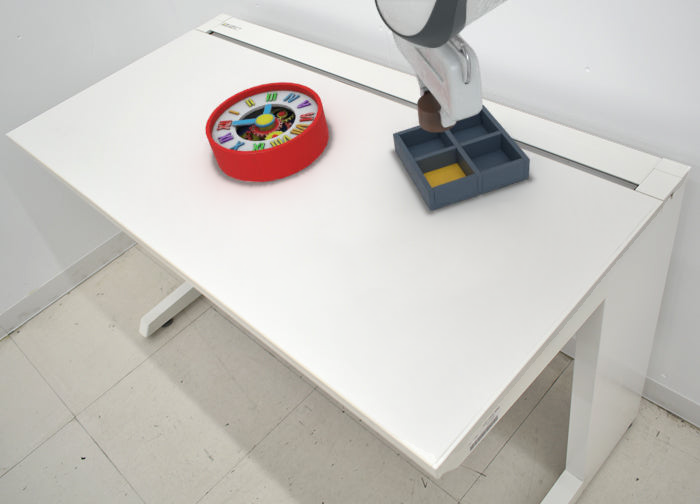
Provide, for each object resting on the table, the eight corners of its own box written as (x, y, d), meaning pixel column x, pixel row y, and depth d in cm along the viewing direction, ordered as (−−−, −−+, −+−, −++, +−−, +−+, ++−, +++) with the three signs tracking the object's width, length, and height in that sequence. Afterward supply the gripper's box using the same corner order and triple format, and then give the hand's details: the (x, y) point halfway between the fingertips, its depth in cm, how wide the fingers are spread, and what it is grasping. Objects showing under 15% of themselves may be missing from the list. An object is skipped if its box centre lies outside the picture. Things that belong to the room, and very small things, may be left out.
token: (448, 105, 82) (447, 86, 80) (463, 125, 78) (462, 105, 76) (413, 116, 81) (411, 97, 79) (427, 137, 78) (425, 117, 76)
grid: (483, 123, 99) (483, 104, 97) (528, 178, 89) (530, 159, 86) (395, 151, 98) (392, 133, 96) (430, 211, 88) (428, 192, 85)
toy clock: (315, 147, 93) (192, 159, 96) (323, 176, 97) (204, 187, 100) (327, 76, 106) (219, 88, 109) (333, 104, 110) (229, 115, 114)
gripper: (497, 39, 62) (496, 147, 72) (424, -32, 76) (431, 67, 86) (440, 57, 61) (446, 163, 71) (376, -18, 75) (389, 80, 85)
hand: (437, 110), depth 79 cm, fingers closed on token, 5 cm apart
